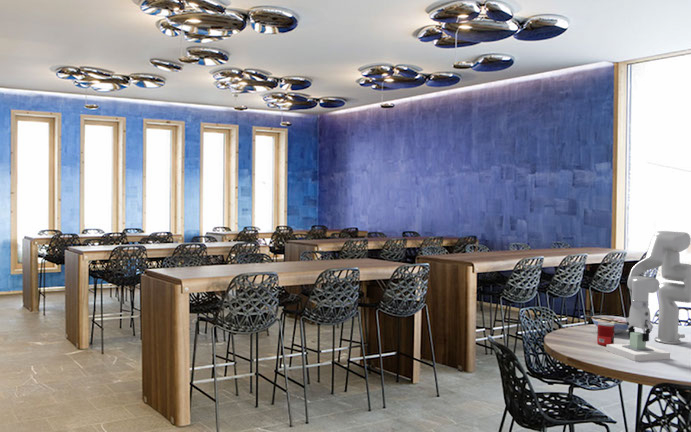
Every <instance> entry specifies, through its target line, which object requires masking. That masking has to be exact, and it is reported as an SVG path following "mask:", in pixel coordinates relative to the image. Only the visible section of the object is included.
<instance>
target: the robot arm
mask: <svg viewBox="0 0 691 432" xmlns="http://www.w3.org/2000/svg"><path fill="white" fill-rule="evenodd" d="M690 245H691V235H690V234H689V233H688V232H683V231H669V230H659V231H655V232H654V233H653V237H652V238H651V239H650V243H649V245H648V249H647V252H646V255H645V257H644V258H643V259H641V260H639V261H638V262H637V263H636V264H635V265H633V267H632V268H631V270H630V272H629V275H628V278H627V288H628V289H629V290H631V301H630V303H631V304H630V308H629V314H628V317H625V318H626V322H627V326H628V328H629V329H628V330H627V331H628V333H627V336H628V338H630V332H636V329H635V328H638V329H641V330H642V333H643V339H642V341H643V342H649V341H650V333H651V332H652V331H653V328H654V326H653V324H652V323H651V311H650V308H649V295H650V294H654V293H656V292H657V295H658V323H657V336H655V337H654V341H655V342H658V343H661V344H668V345H670V344H671V345H678V344H679V345H680V344H681V343H682V340H681V339H684V338H686V335H685V334H683V333H681V334H680V333H679V318H680V316H679V315H680V310H679V307H678V305H677V303H676V302H679V303H685V304H689V303H691V264H690V263H684V262H683V263H682V262H680V260H681V259H680V252H684V251H685V250H687V249H688V248H689V246H690ZM659 267H661V269H660V270H661V277H662V278H663V279H664V280H667V281H668V282H667V281H665V282H661V283H660V281H659V279H658V278H656V277H653V276H643V275H641V274H642V273H644V272H646V271H649V270H653V269H656V268H659ZM670 281H673V282H670ZM677 282H681V283H677Z"/></svg>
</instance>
